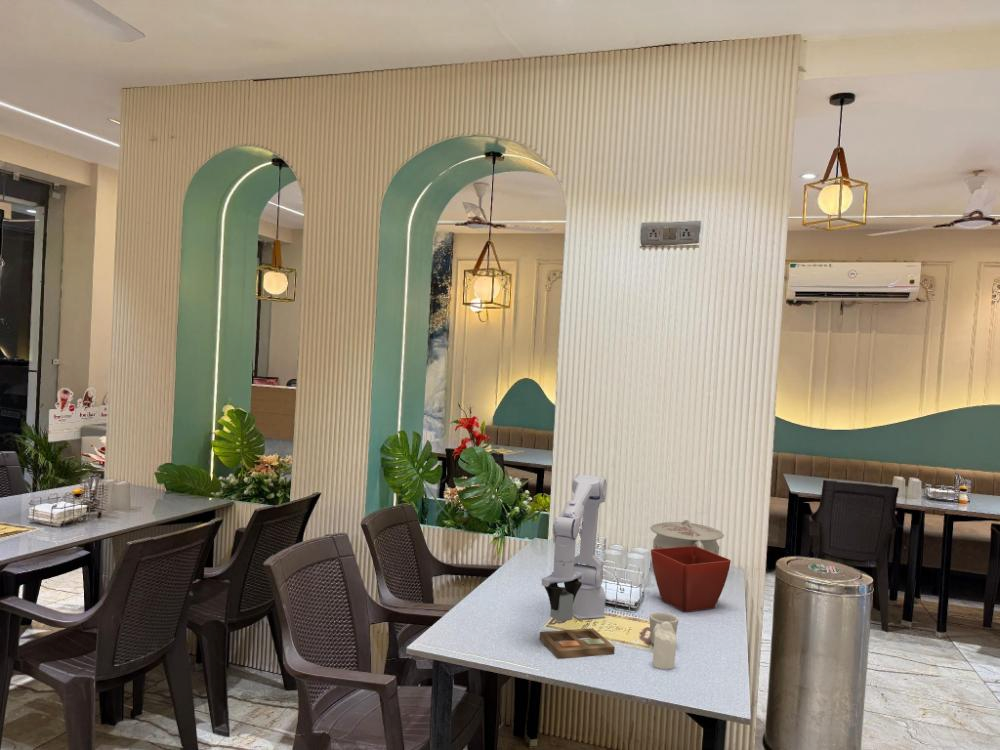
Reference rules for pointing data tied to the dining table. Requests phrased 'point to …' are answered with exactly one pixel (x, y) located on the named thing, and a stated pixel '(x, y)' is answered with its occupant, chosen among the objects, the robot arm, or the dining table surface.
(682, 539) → the chamber pot
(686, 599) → the plant pot
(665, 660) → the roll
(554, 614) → the plug
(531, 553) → the dining table surface
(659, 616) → the cup
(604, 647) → the socket board
